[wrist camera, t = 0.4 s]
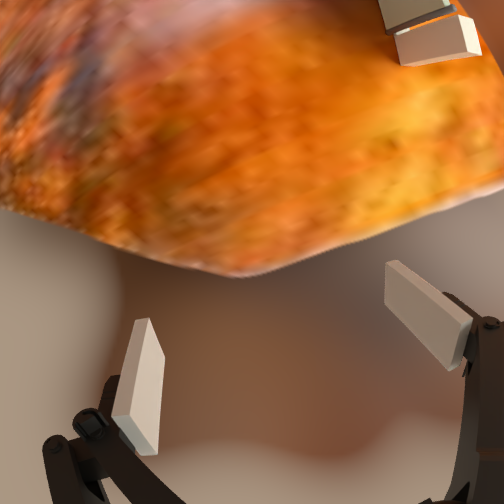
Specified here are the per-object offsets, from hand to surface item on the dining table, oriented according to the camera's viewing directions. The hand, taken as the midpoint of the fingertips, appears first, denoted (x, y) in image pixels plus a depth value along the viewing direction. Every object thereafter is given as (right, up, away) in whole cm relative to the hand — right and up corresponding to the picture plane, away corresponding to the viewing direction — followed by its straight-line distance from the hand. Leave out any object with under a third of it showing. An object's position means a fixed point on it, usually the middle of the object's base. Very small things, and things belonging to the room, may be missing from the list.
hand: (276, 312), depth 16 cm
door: (+17, +44, +16) cm, 50 cm away
